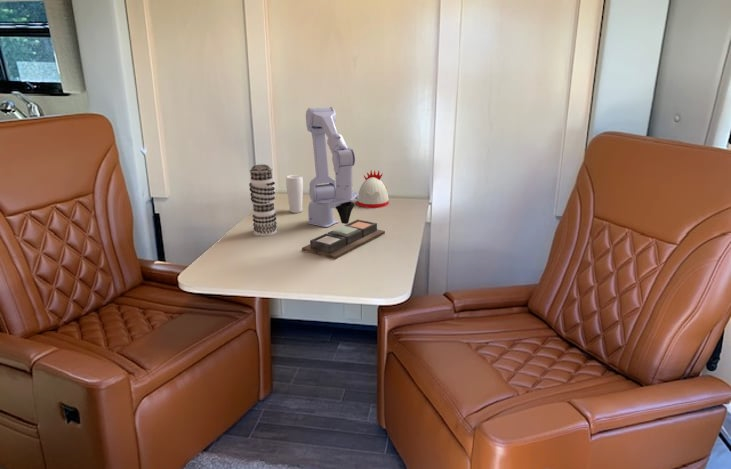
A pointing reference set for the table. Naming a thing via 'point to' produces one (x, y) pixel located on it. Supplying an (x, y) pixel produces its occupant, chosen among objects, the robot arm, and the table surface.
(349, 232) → the sage key
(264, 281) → the table surface
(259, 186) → the white and black cylinder
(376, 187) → the knitted chicken hat
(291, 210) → the drinking glass
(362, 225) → the terracotta key
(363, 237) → the key board
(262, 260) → the table surface
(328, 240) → the off-white key
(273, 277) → the table surface
